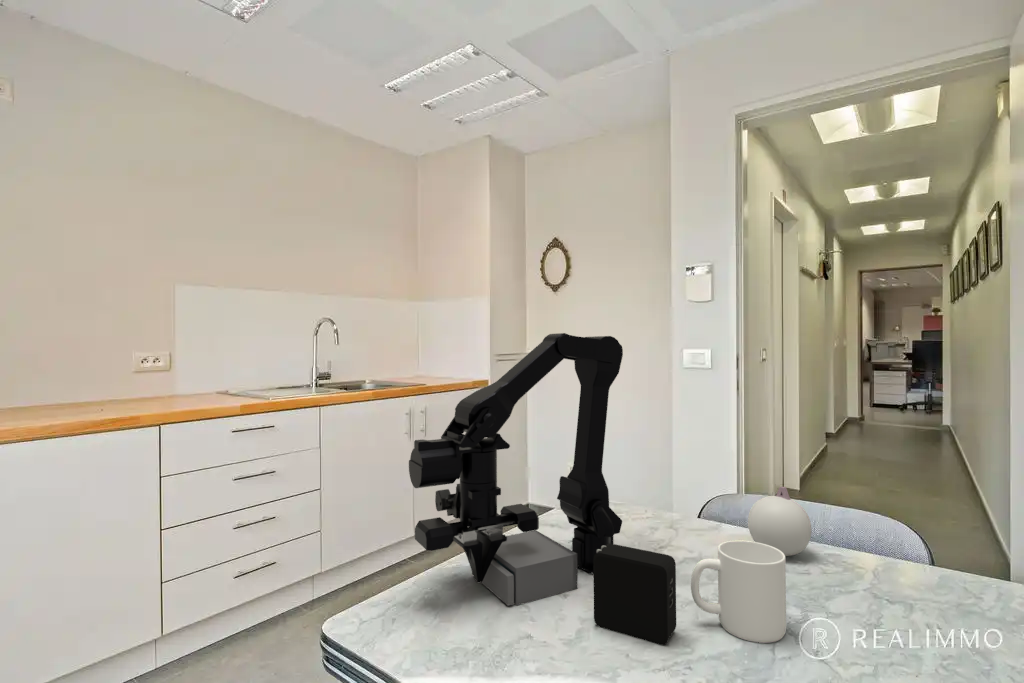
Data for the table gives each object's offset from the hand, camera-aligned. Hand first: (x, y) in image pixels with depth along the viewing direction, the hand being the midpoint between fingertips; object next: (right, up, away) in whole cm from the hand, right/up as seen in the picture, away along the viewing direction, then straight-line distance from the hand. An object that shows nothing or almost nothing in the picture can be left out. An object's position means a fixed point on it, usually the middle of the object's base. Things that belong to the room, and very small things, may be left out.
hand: (478, 581), depth 82 cm
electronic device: (+21, -2, -11) cm, 24 cm away
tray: (+7, -2, +4) cm, 8 cm away
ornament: (+54, -2, +15) cm, 56 cm away
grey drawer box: (+7, -2, +4) cm, 8 cm away
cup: (+35, -2, -10) cm, 37 cm away
